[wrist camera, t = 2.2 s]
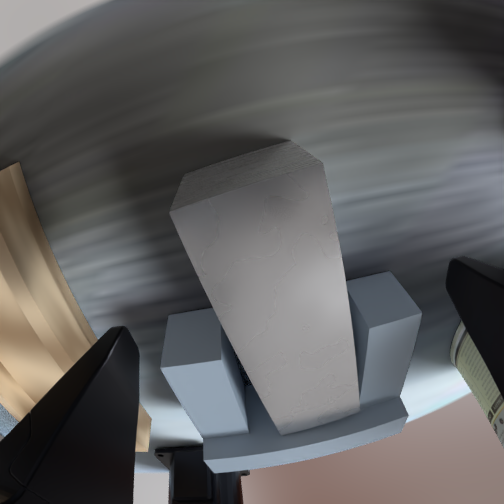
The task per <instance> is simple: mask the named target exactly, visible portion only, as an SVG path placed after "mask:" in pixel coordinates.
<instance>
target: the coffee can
mask: <svg viewBox="0 0 504 504" xmlns="http://www.w3.org/2000/svg"><path fill="white" fill-rule="evenodd" d="M450 357H451V361H452V363H453V365H454V366H455V367H456V368H457V369H458V371H459V372H460V374H461V375H462V377H463V378H464V380H465V382H466V383H467V385H468V386H469V388H470V389H471V391H472V393H473V394H474V396H475V398H476V399H477V401H478V403H479V404H480V406H481V408H482V409H483V411H484V413H485V415H486V416H487V418H488V420H489V422H490V423H491V425H492V427H493V429H494V431H495V432H496V434H497V436H498V438H499V440H500V442H501V444H502V446H503V448H504V400H503V398H502V396H501V394H500V392H499V390H498V388H497V386H496V384H495V382H494V380H493V378H492V376H491V374H490V372H489V370H488V368H487V366H486V364H485V363H484V361H483V359H482V357H481V355H480V353H479V352H478V350H477V348H476V346H475V344H474V343H473V341H472V339H471V337H470V336H469V334H468V332H467V330H466V328H465V326H464V324H463V322H462V321H461V323H460V324H459V326H458V328H457V330H456V333H455V335H454V338H453V341H452V344H451V350H450Z"/></svg>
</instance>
